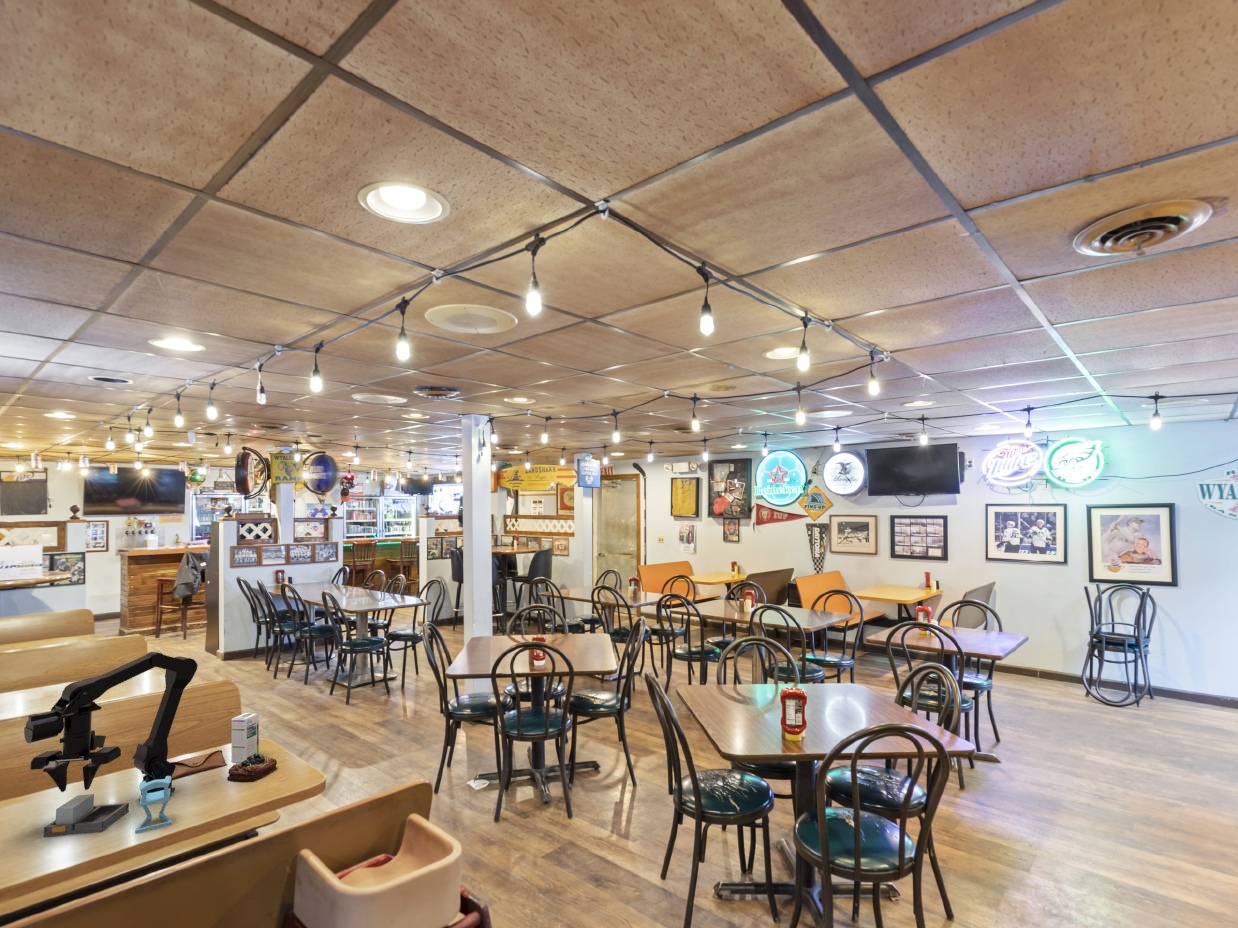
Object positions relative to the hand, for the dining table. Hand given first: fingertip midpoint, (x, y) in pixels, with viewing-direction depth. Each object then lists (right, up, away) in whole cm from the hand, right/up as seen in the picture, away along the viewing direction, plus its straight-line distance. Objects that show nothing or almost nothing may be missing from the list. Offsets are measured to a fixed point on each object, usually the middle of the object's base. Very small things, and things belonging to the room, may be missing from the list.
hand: (75, 790), depth 168 cm
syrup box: (+21, -12, +42) cm, 48 cm away
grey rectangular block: (0, -8, 0) cm, 8 cm away
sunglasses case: (+9, -12, +34) cm, 37 cm away
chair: (+22, -9, -1) cm, 23 cm away
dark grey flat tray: (+3, -9, 0) cm, 10 cm away
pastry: (+30, -11, +30) cm, 44 cm away
